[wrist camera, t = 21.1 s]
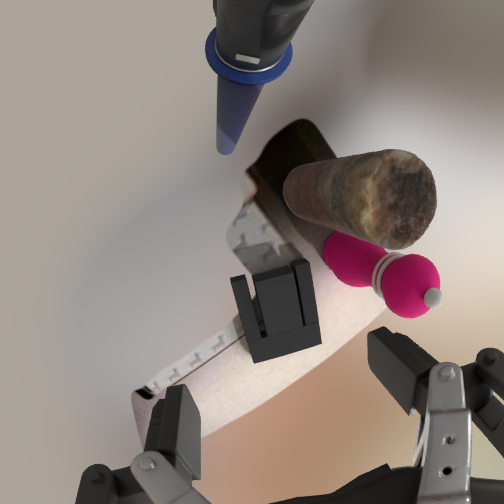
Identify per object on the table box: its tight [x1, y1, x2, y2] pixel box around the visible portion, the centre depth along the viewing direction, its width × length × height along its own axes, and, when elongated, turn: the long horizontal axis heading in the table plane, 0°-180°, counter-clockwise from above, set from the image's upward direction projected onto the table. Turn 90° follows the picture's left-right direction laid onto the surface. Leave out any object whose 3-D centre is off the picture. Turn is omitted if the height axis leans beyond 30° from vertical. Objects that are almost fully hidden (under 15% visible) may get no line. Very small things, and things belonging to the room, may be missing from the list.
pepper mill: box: [323, 231, 443, 318], centre depth 28 cm, size 7×7×20 cm
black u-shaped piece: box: [230, 258, 322, 364], centre depth 38 cm, size 13×10×2 cm
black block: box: [252, 266, 303, 336], centre depth 37 cm, size 8×5×3 cm, turn 13°
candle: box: [283, 149, 437, 250], centre depth 26 cm, size 8×7×20 cm
